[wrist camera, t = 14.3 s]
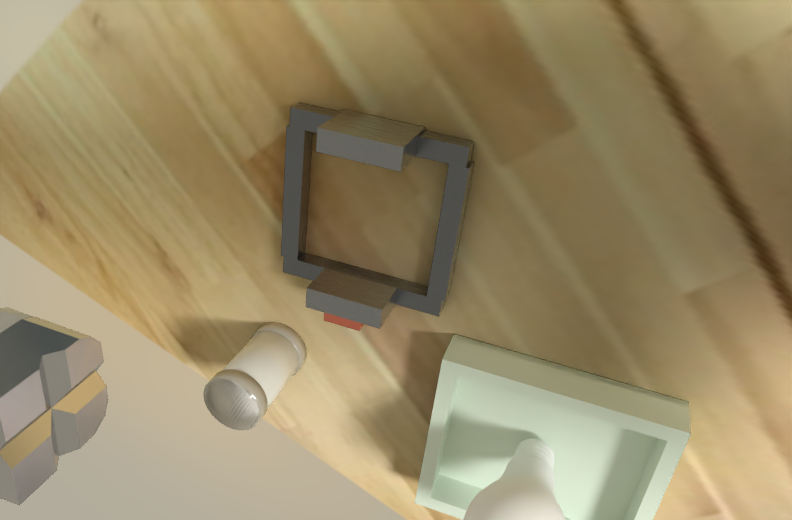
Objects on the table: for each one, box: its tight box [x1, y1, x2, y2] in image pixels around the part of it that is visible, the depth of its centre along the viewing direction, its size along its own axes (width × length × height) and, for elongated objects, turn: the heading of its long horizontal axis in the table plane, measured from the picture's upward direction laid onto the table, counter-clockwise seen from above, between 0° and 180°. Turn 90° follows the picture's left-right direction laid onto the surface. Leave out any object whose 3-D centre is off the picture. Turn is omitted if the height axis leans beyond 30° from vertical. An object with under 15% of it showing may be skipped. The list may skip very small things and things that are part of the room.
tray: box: [415, 334, 691, 520], centre depth 46 cm, size 15×13×3 cm
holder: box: [281, 102, 474, 331], centre depth 42 cm, size 11×12×4 cm
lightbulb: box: [464, 439, 566, 520], centre depth 42 cm, size 6×6×11 cm
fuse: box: [204, 323, 306, 430], centre depth 48 cm, size 4×4×7 cm
